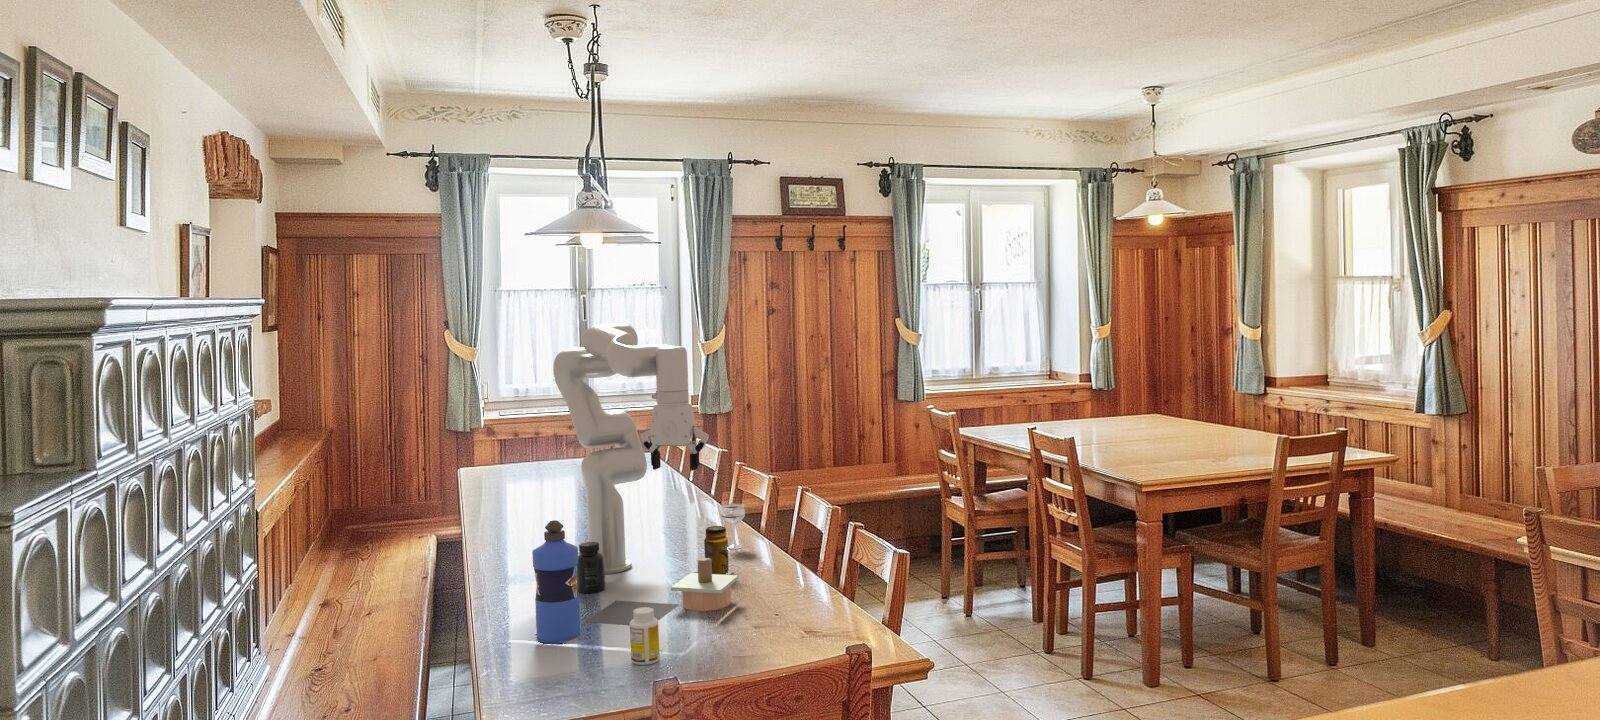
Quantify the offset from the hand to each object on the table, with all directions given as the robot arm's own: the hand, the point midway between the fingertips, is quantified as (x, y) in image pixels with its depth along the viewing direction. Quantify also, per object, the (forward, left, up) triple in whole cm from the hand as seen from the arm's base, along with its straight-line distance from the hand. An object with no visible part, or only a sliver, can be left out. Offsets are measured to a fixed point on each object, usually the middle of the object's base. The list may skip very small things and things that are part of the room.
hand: (675, 469), depth 245 cm
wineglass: (-2, +45, -31) cm, 54 cm away
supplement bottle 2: (+11, -44, -31) cm, 55 cm away
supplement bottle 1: (-22, -3, -31) cm, 38 cm away
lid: (+10, -8, -25) cm, 28 cm away
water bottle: (-13, -35, -31) cm, 48 cm away
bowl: (+10, -8, -30) cm, 33 cm away
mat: (-4, -18, -30) cm, 35 cm away
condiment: (+2, +18, -31) cm, 36 cm away
